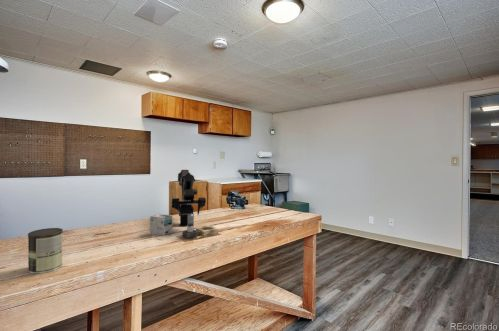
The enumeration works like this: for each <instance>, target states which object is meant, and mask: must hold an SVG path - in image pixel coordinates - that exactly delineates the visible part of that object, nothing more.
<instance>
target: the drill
mask: <svg viewBox="0 0 499 331" xmlns="http://www.w3.org/2000/svg"><path fill="white" fill-rule="evenodd" d="M194 214H195V213H193V214H188V225H187V226H186V229H187V233H192V232H194V230H195V215H194Z"/></svg>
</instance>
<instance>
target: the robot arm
mask: <svg viewBox="0 0 499 331" xmlns="http://www.w3.org/2000/svg"><path fill="white" fill-rule="evenodd" d="M189 171H190V170H189V169H181V170H180V172H179V173H177V182H178V185H179V186H180V187H181V189H180V190H181V200H180V198H179V197H178V198H177V197H175V198H174V197H173V198H171V208H172V209H174V210H176V212H178V216H179V222H180V223H179V227H187V225H188V214H194V209H195V208H194V206H193V205H197V216H199V215H200V211H201V209H202V208H203V207H205V206H206V203H207V199H206V197H198V199H197V200H195V196H197V195H198V188H194V187H193V186H194V183H195V182H196V179H195V176H194V175H193V174H192V173H191V172H189Z"/></svg>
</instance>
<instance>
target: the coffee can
mask: <svg viewBox="0 0 499 331" xmlns="http://www.w3.org/2000/svg"><path fill="white" fill-rule="evenodd" d="M63 230H64V229H63V228H60V227H49V228H48V227H47V228H41V229H37V230H36V229H35V230H32V231H30V232H28V233H27V236H28V237H27V239H28V240H27V244H28V246H27V247H28V249H27V252H28V253H27V254H28V256H27V258H28V262H27V266H28V267H27V268H28V269H27V272H28V274H32V275H39V274H40V275H41V274H47V273H50V272H54V271H56V270H59V269H60V268H61V267H62V266H63V232H64V231H63Z"/></svg>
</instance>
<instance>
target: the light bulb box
mask: <svg viewBox="0 0 499 331" xmlns="http://www.w3.org/2000/svg"><path fill="white" fill-rule="evenodd" d="M149 218H150V219H149V224H150V225H149V230H150V231H149V235H152V236H154V235H160V236H166V235H168V234H171V233H173V215H172V214H171V215H170V214H164V213H163V214H162V213H157V214H151V215H150V217H149Z"/></svg>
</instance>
